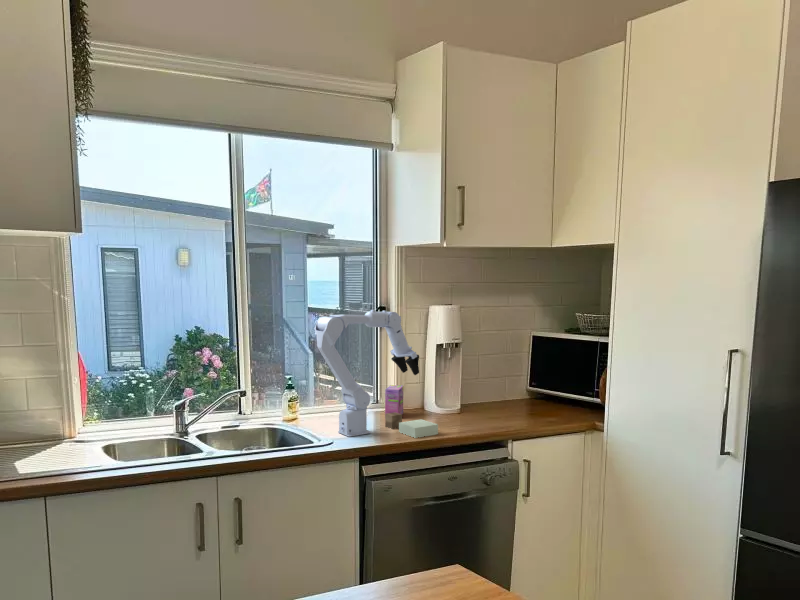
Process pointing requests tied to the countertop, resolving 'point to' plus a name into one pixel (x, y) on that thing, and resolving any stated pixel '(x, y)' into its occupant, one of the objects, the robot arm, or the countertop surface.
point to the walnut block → (393, 420)
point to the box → (394, 399)
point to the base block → (418, 428)
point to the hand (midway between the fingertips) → (411, 372)
